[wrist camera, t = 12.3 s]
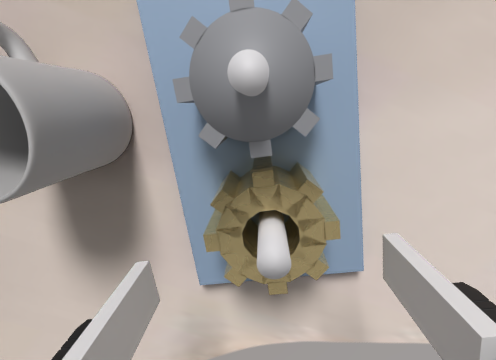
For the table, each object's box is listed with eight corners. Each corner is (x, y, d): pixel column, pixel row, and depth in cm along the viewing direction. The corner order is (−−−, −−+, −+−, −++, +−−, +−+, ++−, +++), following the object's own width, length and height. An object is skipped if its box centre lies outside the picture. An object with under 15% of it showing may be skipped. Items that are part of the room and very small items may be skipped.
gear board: (203, 276, 28) (169, 371, 18) (142, -3, 21) (35, -98, 11) (358, 261, 27) (415, 357, 17) (346, -42, 20) (431, -192, 10)
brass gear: (226, 259, 26) (216, 299, 21) (207, 163, 23) (191, 180, 18) (326, 249, 25) (343, 288, 20) (319, 148, 22) (336, 162, 17)
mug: (150, 144, 25) (66, 174, 14) (76, 179, 26) (-52, 229, 16) (79, 11, 22) (-90, -75, 11) (0, 57, 23) (-216, 18, 13)
